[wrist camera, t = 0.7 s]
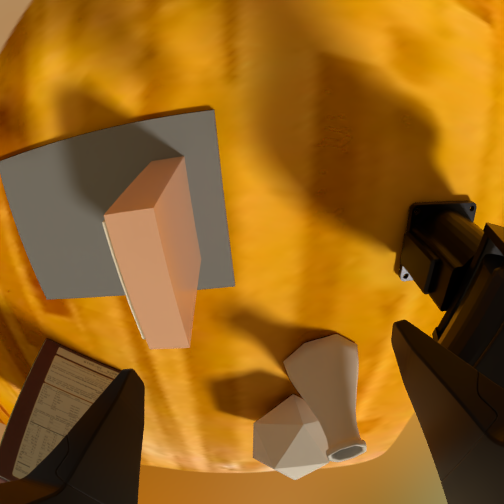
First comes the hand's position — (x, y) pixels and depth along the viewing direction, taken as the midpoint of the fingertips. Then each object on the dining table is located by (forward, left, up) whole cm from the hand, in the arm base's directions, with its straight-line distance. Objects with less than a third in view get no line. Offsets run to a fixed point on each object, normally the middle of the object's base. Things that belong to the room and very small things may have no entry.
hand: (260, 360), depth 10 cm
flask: (-6, +15, -12) cm, 20 cm away
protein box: (+20, +19, -12) cm, 31 cm away
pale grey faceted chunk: (-3, +23, -12) cm, 26 cm away
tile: (+4, -1, -12) cm, 12 cm away
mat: (+9, -1, -12) cm, 15 cm away
